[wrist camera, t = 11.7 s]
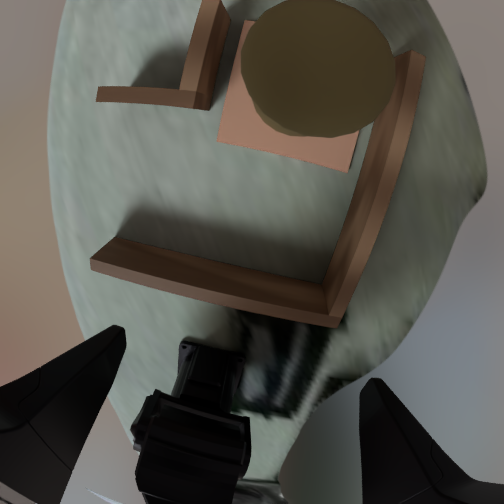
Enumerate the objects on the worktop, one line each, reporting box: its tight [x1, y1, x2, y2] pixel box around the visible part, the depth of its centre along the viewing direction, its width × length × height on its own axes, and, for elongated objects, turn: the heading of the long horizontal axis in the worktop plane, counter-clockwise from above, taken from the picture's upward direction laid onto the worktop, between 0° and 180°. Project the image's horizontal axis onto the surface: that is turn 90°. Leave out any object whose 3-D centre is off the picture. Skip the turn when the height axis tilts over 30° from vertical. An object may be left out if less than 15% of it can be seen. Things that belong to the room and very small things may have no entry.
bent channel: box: [90, 0, 426, 328], centre depth 17 cm, size 19×18×4 cm
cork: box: [241, 0, 396, 138], centre depth 11 cm, size 6×6×11 cm
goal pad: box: [217, 20, 359, 173], centre depth 16 cm, size 9×9×1 cm
